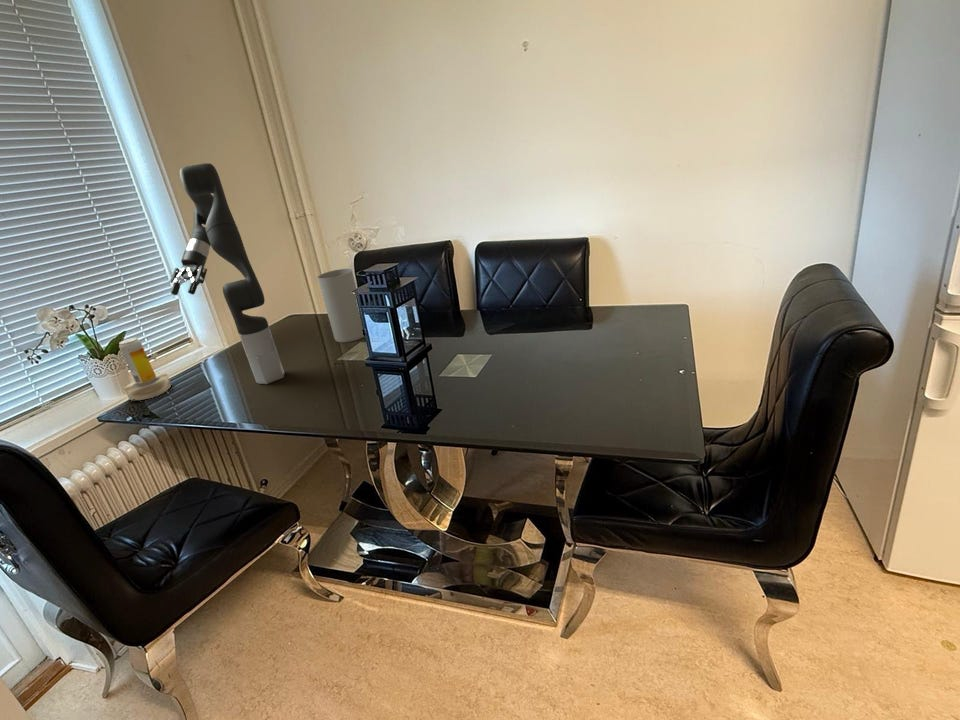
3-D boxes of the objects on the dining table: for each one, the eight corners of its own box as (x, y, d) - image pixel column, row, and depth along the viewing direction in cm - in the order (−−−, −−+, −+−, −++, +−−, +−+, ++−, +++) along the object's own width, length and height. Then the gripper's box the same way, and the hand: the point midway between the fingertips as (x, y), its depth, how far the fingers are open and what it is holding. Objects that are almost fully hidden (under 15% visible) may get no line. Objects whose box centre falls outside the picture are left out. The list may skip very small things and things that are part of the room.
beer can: (160, 376, 178) (142, 336, 172) (148, 384, 172) (129, 343, 166) (145, 378, 179) (126, 338, 173) (132, 386, 173) (113, 345, 167)
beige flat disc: (175, 390, 176) (170, 379, 174) (132, 405, 169) (126, 394, 167) (168, 380, 185) (163, 369, 184) (127, 394, 179) (122, 384, 177)
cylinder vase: (354, 329, 207) (338, 268, 197) (374, 332, 199) (358, 269, 189) (328, 341, 198) (310, 277, 189) (348, 345, 191) (330, 279, 181)
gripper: (173, 250, 191) (159, 290, 186) (201, 247, 185) (187, 288, 180) (190, 260, 197) (177, 299, 192) (218, 258, 192) (205, 297, 187)
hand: (182, 293), depth 186 cm, fingers open, 8 cm apart
